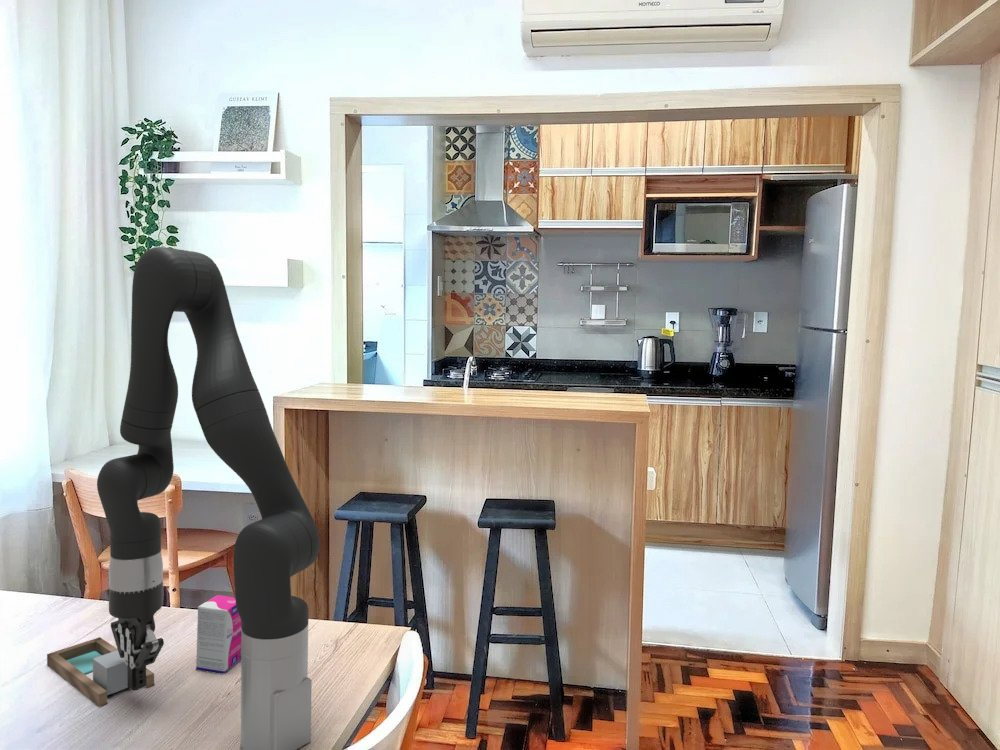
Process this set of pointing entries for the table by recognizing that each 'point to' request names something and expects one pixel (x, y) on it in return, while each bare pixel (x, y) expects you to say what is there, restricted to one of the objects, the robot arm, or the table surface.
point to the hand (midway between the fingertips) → (136, 687)
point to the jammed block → (110, 672)
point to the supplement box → (218, 635)
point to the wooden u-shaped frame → (85, 667)
